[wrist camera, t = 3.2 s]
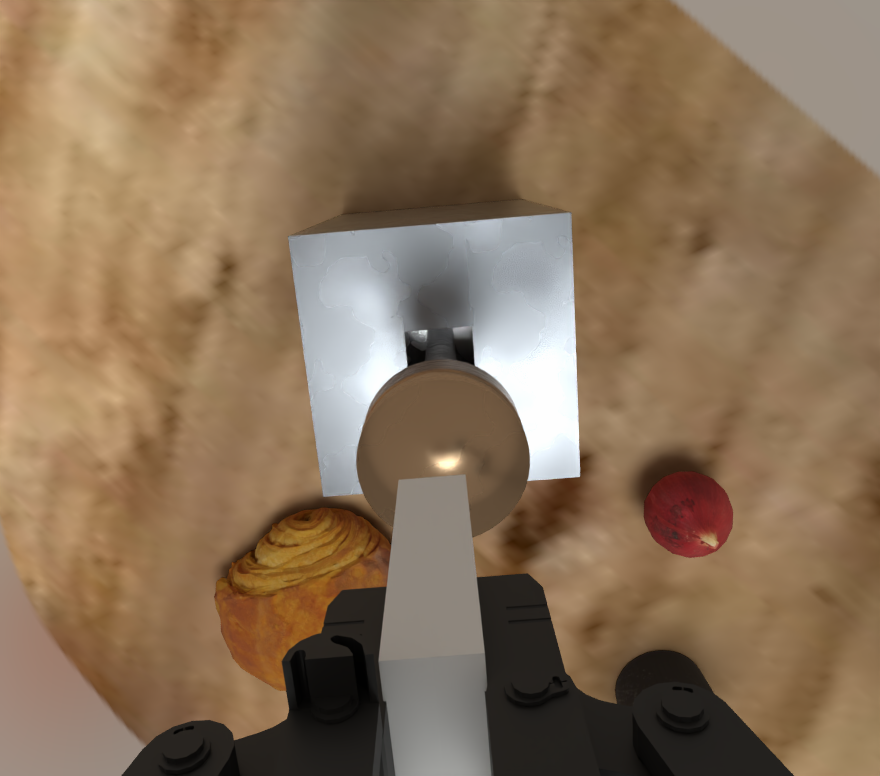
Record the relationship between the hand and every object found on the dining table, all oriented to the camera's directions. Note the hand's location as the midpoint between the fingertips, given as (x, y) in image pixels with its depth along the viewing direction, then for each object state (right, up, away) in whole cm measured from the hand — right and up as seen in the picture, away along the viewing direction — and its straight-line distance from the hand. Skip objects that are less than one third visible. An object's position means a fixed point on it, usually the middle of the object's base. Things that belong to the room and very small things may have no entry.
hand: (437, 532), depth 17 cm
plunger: (0, +7, +24) cm, 25 cm away
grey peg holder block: (0, +10, +34) cm, 36 cm away
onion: (+17, -4, +39) cm, 43 cm away
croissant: (-9, -12, +41) cm, 44 cm away
